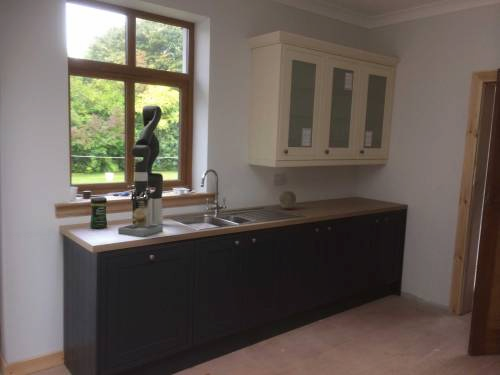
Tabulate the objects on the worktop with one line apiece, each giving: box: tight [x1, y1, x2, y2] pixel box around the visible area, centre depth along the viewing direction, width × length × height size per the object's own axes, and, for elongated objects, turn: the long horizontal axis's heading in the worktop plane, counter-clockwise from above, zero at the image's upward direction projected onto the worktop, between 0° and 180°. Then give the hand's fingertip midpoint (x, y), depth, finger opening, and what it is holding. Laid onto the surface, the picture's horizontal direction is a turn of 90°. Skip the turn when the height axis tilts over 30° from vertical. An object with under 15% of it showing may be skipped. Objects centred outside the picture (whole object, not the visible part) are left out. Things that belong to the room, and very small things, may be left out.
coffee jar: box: [89, 196, 108, 229], centre depth 263 cm, size 10×8×19 cm
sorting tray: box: [117, 224, 164, 238], centre depth 253 cm, size 18×18×4 cm
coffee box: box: [131, 197, 150, 227], centre depth 252 cm, size 9×6×16 cm
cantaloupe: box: [279, 190, 297, 210], centre depth 358 cm, size 14×14×15 cm
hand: (140, 207), depth 251 cm, fingers closed on coffee box, 8 cm apart
